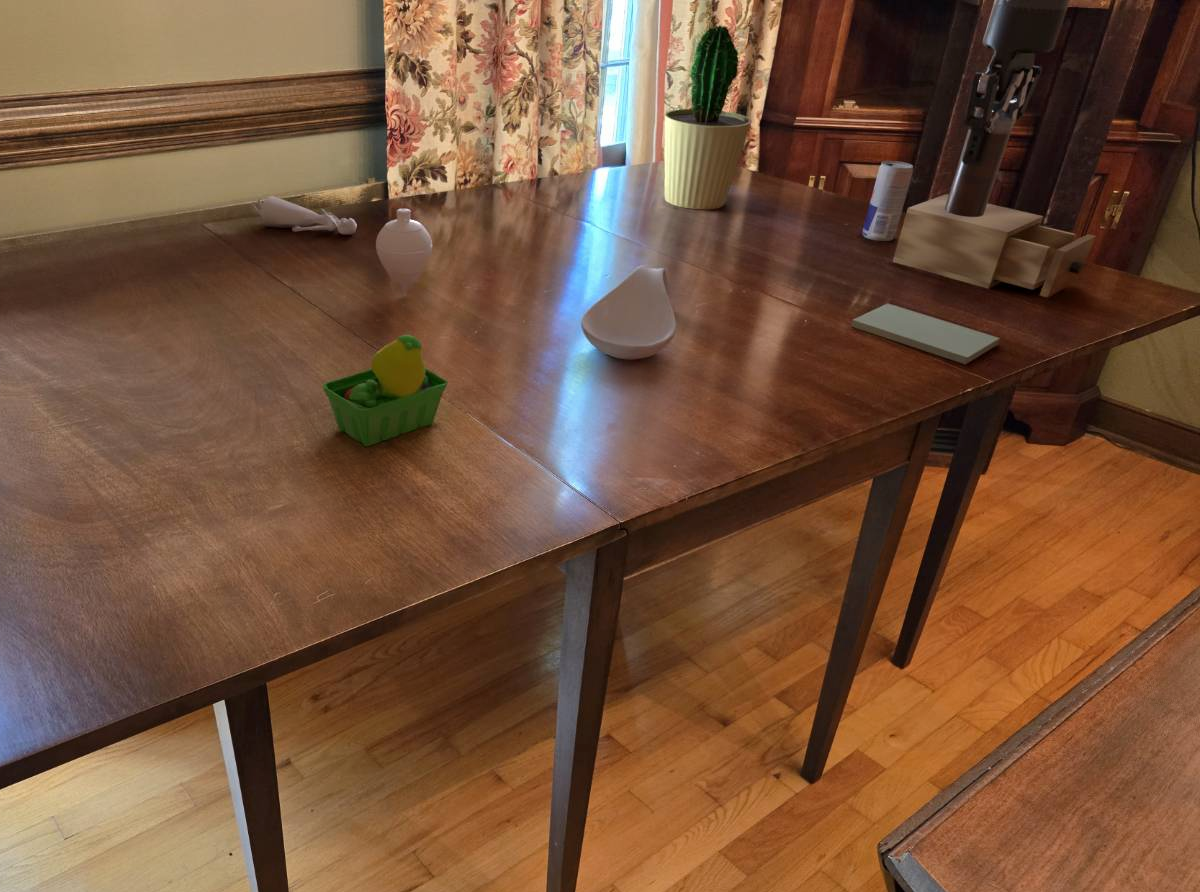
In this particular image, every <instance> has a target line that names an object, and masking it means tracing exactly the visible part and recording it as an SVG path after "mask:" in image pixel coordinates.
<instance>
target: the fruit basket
mask: <svg viewBox="0 0 1200 892" xmlns="http://www.w3.org/2000/svg"><path fill="white" fill-rule="evenodd" d="M447 385H448V381H447V380H446V379H445V378H442V377H441V376H439V375H438V374H436V373H434V372H432V371H431V370H430V369H427V368H426V362H425V359H424V357H423V352H422V343H421V342H420V340H419V339H418V338H417V337H416V336H412V335H410V334H403V335H400V336H398V337H397V339H395V340H393V341H391V342H390V343H388V344H386V345H385V346H382V347H381V348H380V349H379V350H377V351H376V353H375V354H374V355H373V357H372V360H371V367H370V369H368V370H364V371H360V372H357V373H355V374H354V373H353V374H351V375H348V376H345V377H341V378H337V379H335V380H332V381H328V382H325V383H323V384H322V388H323V391H324V393H325V396H326V397H327V398H328V401H329V404H330V407H331V409H332V412H333V415H334V418H335V422H336V424H337V427H338V429H339V430H340V431H342V432H344V433H346V435H348V436H349V437H351V438H352V439H354V440H355V441H357V442H359V443H361V444H362V445H363V446H365V447H367V448H368V447H370V446H374V445H376V444H379V443H380V442H382V441H383V442H384V441H387V440H390V439H392V438H396V437H398V436H400V435H403V434H404V435H405V434H407V433H410V432H412V431H416V430H417V429H419V428H424V427H427V426H430V425H432V424H433V423H434V421H435V417H436V416H437V415H436V414H437V411H438V409H439V406H440V402H441V399H442V396H443V393H444V392H445V390H446V388H447Z"/></svg>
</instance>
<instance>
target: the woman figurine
mask: <svg viewBox="0 0 1200 892" xmlns="http://www.w3.org/2000/svg"><path fill="white" fill-rule="evenodd" d="M256 203H257V206H256V205H255V201H252V202H251V204H250V207H251V213H252V214H254V215H257V216H259V217H260V220H261V225H263V226H264V227H265V228H279V229H280V228H282V229H287V228H288V229H289V228H291V230H292V232H295V233H297V232H302V231H328V232H332V231H335V230H337V232H338V233H339V234H341V235H343V236H350V235H353V234H354V233H355V232H356V231H357V226H358V225H357V223H356V220H355V219H353V218H352V217H349V218H348V219H347V218H345V217H342V218H340V219H339V218H338V217H337V216H336V215H334V214H333V213H331V212H329V211H326V210H325V209H323V208H320V210H321V214H318V213H316V211H315V212H314V211H313V210H311V209H309V208H307V207H303V206H301V205H298V204H295V203H293V202H291V201H287V200H285V199H282V198H279V197H276V196H274V195H268V196H267V197H266V198H265V199H264V200H263V203H262V201H261V199H260V198H258V199H257V202H256Z"/></svg>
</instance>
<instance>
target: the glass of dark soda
mask: <svg viewBox="0 0 1200 892" xmlns="http://www.w3.org/2000/svg"><path fill="white" fill-rule="evenodd" d="M981 117H983V113H982V116H981ZM1013 124H1014V120H1013V119H1011V118H1008V117H1004V116H999V117H998V120H997V122H996V124H995V127H994V129H993V131H992V132H991V133H992V134H991V137H990V140H989V144H988V147H987V150H986V153H985V156H984V159H983V162H982V164H981V165H978V166H972V165H967V164H964V163H963V162H962V158H963V155H964V151H965V148H966V145H967V142H968V139H969V135H970V132H971V130H969V129H968V131H967V133H966V137H965V140H964V144H963V146H962V151H961V154H960V157H959V160H958V164H957V166H956V170H955V173H954V177H953V180H952V183H951V186H950V189H949V193H948V195H949V196H948V199H947V202H946V206H945V210H946V211H947V212H949V213H951V214H955V215H959V216H965V217H980V216H983V215H984V212H985V209H986V206H987V203H988V204H989V200H990V196H991V193H992V191H993V187H994V185H995V181H996V179H997V176H998V173H999V170H1000V166H1001V164H1002V160H1003V157H1004V154H1005V151H1006V148H1007V145H1008V143H1009V139H1010V136H1011V133H1012V130H1013V127H1014V125H1015V124H1014V125H1013Z"/></svg>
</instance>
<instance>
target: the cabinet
mask: <svg viewBox="0 0 1200 892" xmlns="http://www.w3.org/2000/svg"><path fill="white" fill-rule="evenodd" d="M948 196H949V193H945V194H943V195H940V196H937V197H935V198H931V199H929V200H926V201H923V202H920V203H917V204H915V205H912V206H909V207H908V208H907V210H906V214H905V216H904V219H903V220H904V221H903V224H902V226H901V227H902V228H901V231H900V235H899V237H898V241H897V246H896V248H895V252H894V254H893V255H894V256H893V260H892V262H893V263H895V264H898V265H903V266H906V267H910V268H913V269H916V270H920V271H923V272H928V273H929V274H934V275H938V276H941V277H944V278H948V279H951V280H955V281H959V282H962V283H967V284H970V285H974V286H976V287H980V288H984V289H988V290H989V289H991V288H993V287H995V286H996V285H999V284H1001V283H1002V281H999V280H995V279H994V276H995V273H996V271H997V268H998V265H999V262H1000V259H1001V256H1002V253H1003V250H1004V248H1005V245H1006V242H1007V239H1008V237H1009V236H1011V235H1013V234H1015V233H1017V232H1020V231H1022V230H1024V229H1026V228H1028V227H1031V226H1033V225H1035V224H1036V225H1040V226H1042V222H1043V220H1044V216H1043V215H1039V214H1035V213H1030V212H1027V211H1021V210H1017V209H1014V208H1010V207H1005V206H1000V205H996V204H992V203H989V202H988V203H987V206H986V209H985V212H984V215H983V216H980V217H965V216H959V215H955V214H951V213H949V212H947V211H946V210H945V206H946V202H947V199H948Z"/></svg>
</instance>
